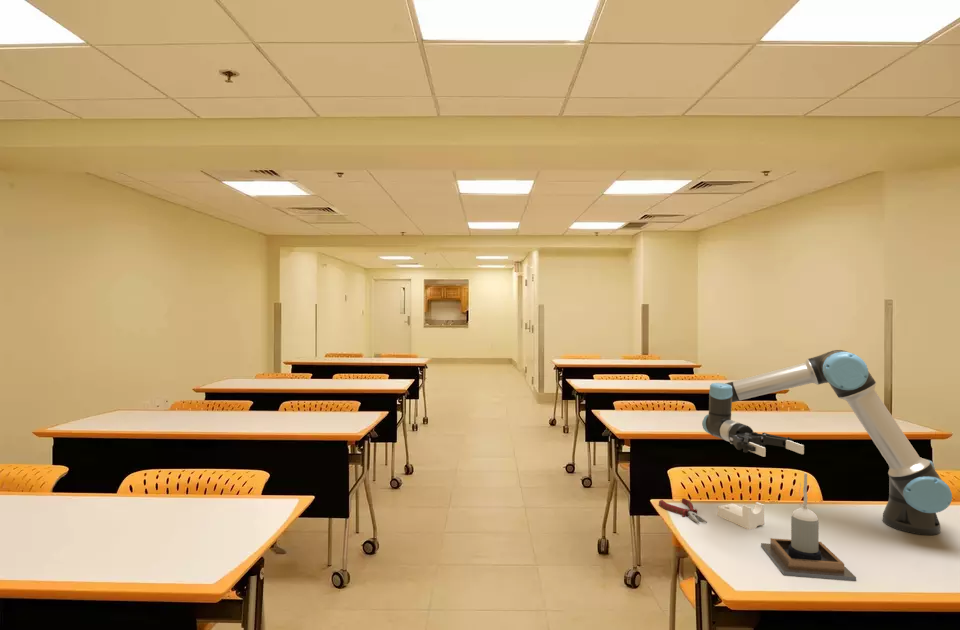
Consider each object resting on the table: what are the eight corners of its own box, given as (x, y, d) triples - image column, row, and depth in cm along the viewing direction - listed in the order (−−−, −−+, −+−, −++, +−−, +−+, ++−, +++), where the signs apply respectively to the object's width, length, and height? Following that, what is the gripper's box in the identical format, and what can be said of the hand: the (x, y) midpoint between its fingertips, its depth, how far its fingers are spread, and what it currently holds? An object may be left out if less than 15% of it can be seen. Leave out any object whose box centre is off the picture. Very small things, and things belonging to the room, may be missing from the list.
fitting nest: (825, 550, 160) (825, 539, 160) (856, 581, 142) (856, 568, 142) (761, 546, 163) (761, 535, 163) (783, 575, 146) (783, 562, 146)
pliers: (687, 527, 178) (687, 519, 178) (657, 505, 198) (657, 498, 198) (718, 525, 181) (718, 517, 181) (685, 503, 200) (685, 497, 200)
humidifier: (807, 567, 148) (807, 478, 147) (781, 554, 155) (782, 470, 155) (828, 563, 150) (828, 475, 150) (802, 550, 158) (802, 467, 158)
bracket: (764, 527, 178) (764, 504, 178) (748, 530, 176) (748, 507, 176) (732, 513, 190) (732, 492, 190) (717, 516, 188) (717, 495, 188)
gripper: (768, 442, 186) (818, 460, 165) (704, 446, 181) (747, 465, 160) (768, 421, 185) (818, 436, 164) (705, 424, 180) (748, 441, 160)
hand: (783, 451), depth 162 cm, fingers open, 13 cm apart
